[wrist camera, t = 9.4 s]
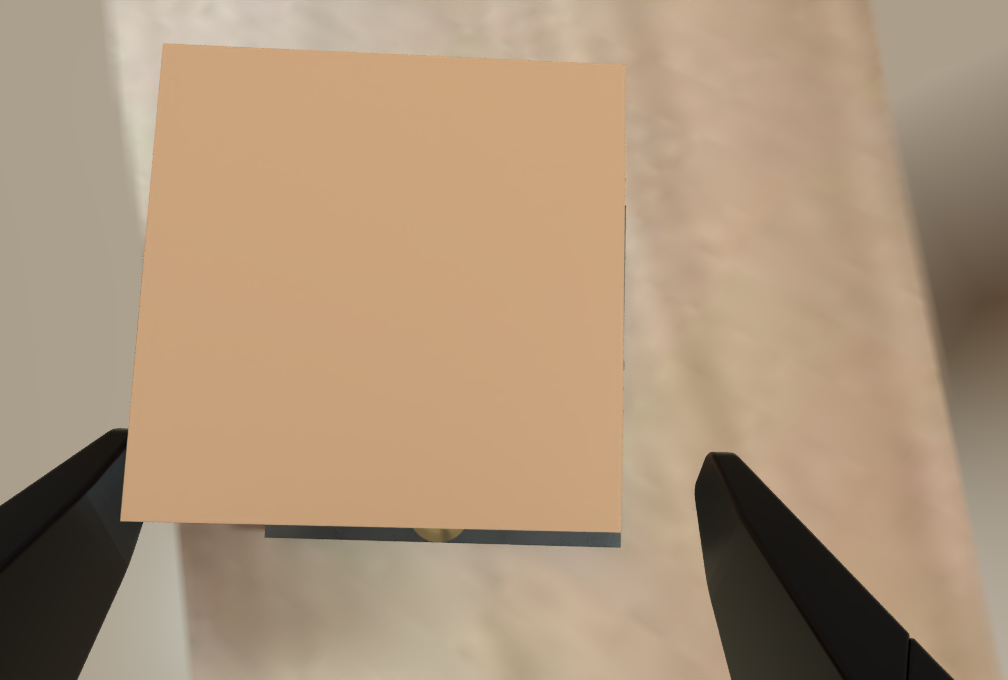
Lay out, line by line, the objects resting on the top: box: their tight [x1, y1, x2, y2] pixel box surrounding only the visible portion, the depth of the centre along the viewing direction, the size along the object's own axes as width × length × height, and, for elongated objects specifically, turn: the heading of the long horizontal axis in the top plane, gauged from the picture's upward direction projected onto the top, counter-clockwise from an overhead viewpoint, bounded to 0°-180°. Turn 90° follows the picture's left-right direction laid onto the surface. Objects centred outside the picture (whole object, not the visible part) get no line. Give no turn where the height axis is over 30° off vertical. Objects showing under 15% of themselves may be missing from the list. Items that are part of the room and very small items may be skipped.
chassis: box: [265, 205, 626, 548], centre depth 18 cm, size 10×10×4 cm
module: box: [120, 44, 626, 533], centre depth 12 cm, size 4×4×13 cm
